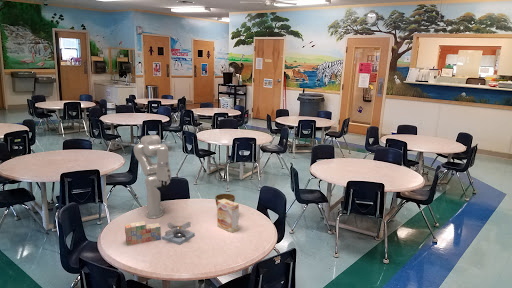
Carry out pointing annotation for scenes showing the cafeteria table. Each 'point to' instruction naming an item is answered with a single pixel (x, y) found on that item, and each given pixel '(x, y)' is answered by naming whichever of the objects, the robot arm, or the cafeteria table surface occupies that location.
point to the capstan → (178, 230)
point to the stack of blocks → (142, 232)
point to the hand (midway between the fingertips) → (163, 189)
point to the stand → (178, 238)
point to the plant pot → (225, 197)
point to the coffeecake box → (227, 215)
